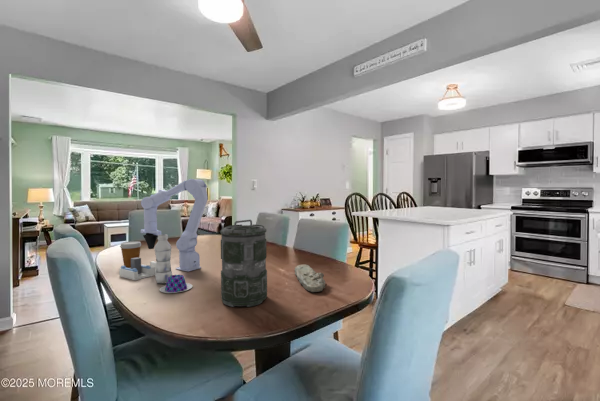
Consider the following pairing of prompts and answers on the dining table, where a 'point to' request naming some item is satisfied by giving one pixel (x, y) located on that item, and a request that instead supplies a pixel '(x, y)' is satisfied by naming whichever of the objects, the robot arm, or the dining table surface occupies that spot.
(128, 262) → the disposable coffee cup
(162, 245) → the plastic bottle
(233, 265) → the canister
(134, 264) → the cord plug
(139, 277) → the white blue cradle
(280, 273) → the dining table surface
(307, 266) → the long grey stone
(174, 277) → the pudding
